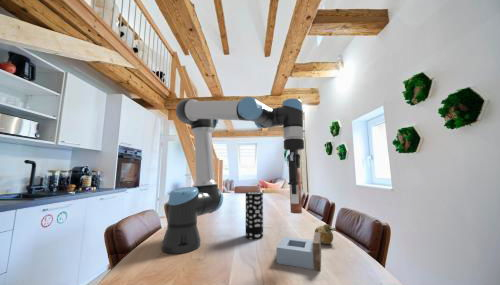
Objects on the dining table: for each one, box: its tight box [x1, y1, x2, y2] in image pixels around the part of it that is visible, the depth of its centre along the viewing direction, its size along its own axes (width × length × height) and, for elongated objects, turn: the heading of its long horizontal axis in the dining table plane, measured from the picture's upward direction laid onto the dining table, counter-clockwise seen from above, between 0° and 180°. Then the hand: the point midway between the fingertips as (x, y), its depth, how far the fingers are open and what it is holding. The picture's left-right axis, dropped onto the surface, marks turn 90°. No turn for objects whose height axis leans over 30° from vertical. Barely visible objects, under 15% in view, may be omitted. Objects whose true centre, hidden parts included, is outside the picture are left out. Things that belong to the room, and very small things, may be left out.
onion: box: [314, 223, 337, 245], centre depth 87 cm, size 8×8×8 cm
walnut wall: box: [312, 231, 322, 272], centre depth 69 cm, size 2×12×8 cm, turn 159°
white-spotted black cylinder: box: [245, 191, 264, 241], centre depth 96 cm, size 8×8×20 cm
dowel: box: [289, 167, 303, 215], centre depth 74 cm, size 4×4×16 cm
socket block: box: [275, 236, 314, 270], centre depth 71 cm, size 12×12×5 cm
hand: (295, 202), depth 73 cm, fingers closed on dowel, 4 cm apart
